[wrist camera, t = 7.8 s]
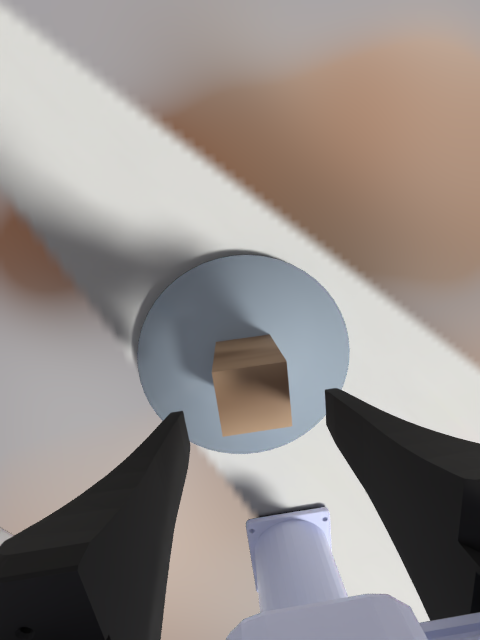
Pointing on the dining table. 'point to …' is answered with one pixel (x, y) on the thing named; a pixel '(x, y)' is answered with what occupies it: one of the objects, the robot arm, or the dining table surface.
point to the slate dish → (234, 323)
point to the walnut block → (251, 385)
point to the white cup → (4, 535)
